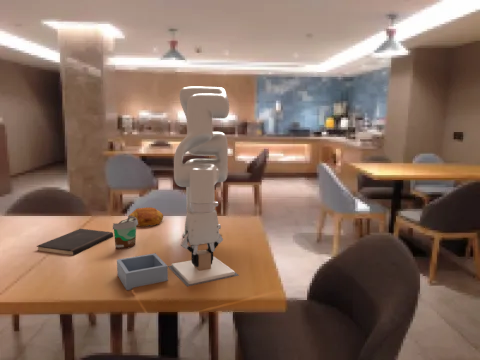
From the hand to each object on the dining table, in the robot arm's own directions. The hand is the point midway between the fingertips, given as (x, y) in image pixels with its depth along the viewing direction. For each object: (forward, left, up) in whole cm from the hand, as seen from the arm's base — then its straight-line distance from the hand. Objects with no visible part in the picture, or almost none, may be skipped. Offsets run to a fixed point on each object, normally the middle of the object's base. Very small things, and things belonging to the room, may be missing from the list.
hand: (202, 263), depth 121 cm
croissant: (0, -65, -3) cm, 65 cm away
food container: (+14, -36, -3) cm, 39 cm away
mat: (0, 0, -3) cm, 3 cm away
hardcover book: (+31, -48, -4) cm, 57 cm away
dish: (+18, -4, -3) cm, 19 cm away
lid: (0, 0, -2) cm, 2 cm away
